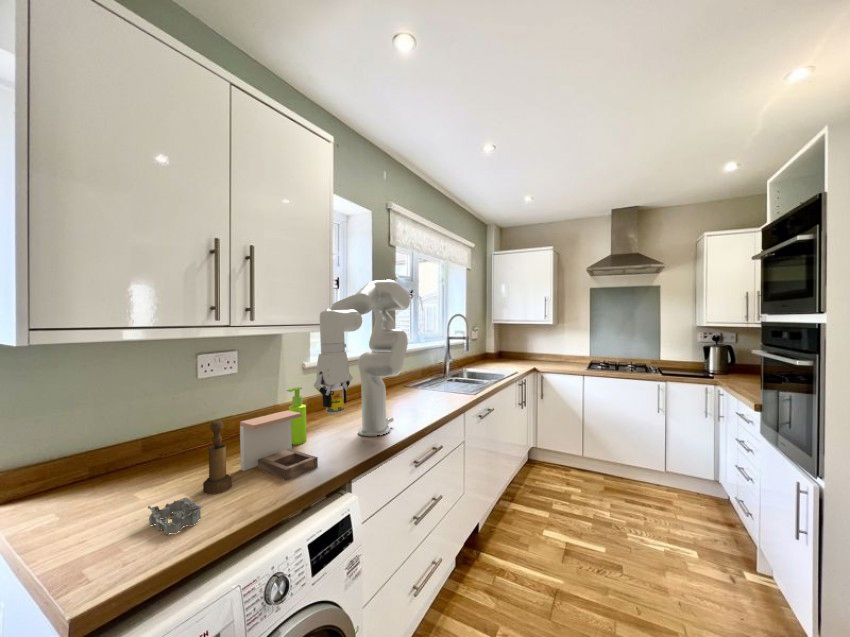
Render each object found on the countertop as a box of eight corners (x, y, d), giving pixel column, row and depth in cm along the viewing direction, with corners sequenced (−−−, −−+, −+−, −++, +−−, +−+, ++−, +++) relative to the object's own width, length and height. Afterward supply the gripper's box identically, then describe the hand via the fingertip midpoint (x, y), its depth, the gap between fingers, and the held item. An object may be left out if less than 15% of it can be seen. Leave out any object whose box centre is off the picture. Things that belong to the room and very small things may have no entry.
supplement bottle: (324, 415, 111) (323, 382, 111) (328, 410, 117) (327, 379, 117) (342, 414, 112) (341, 381, 112) (345, 409, 117) (344, 378, 117)
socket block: (289, 458, 114) (289, 448, 114) (317, 467, 106) (317, 457, 106) (258, 469, 106) (257, 459, 106) (286, 480, 98) (286, 469, 98)
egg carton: (145, 524, 78) (145, 506, 78) (183, 509, 84) (183, 492, 84) (165, 540, 72) (165, 519, 72) (205, 522, 78) (205, 503, 78)
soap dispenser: (283, 444, 128) (282, 388, 128) (298, 438, 134) (297, 385, 134) (295, 446, 125) (294, 389, 125) (309, 440, 131) (308, 386, 132)
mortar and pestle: (237, 485, 95) (236, 418, 96) (215, 496, 89) (214, 425, 90) (220, 481, 98) (219, 416, 98) (197, 492, 92) (196, 422, 92)
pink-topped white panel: (288, 452, 119) (287, 410, 120) (302, 457, 115) (301, 413, 115) (240, 469, 106) (239, 421, 106) (254, 474, 102) (253, 425, 102)
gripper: (345, 345, 123) (346, 397, 124) (302, 351, 109) (305, 409, 109) (360, 346, 119) (362, 400, 119) (318, 352, 105) (321, 413, 105)
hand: (335, 404), depth 114 cm, fingers closed on supplement bottle, 5 cm apart
